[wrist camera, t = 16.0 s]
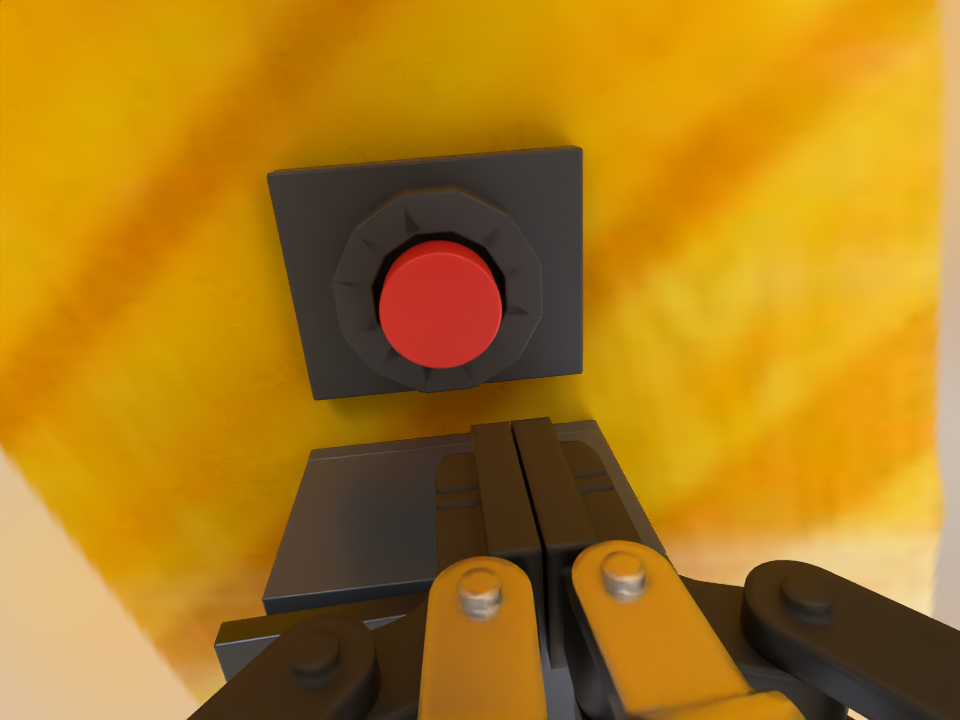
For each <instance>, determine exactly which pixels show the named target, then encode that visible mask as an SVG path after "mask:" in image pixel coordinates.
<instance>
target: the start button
mask: <svg viewBox="0 0 960 720" xmlns="http://www.w3.org/2000/svg"><path fill="white" fill-rule="evenodd" d="M379 316H380V322H381V326H382V329H383V332H384V334H385V336H386V338H387V340H388V341H389V343H390V344H391V345H392V347H393V348H394V349H395V350H396V351H397V352H398V353H400V354H401V355H402V356H403V357H405V358H406V359H408V360H409V361H411V362H414V363H416V364H418V365H421V366H424V367H429V368H439V369H441V368H452V367H456V366H460V365H463V364H465V363H468V362H470V361H471V360H473V359H475V358H476V357H478V356H479V355H480V354H482V353H483V352H484V351H485V350H486V349H487V348H488V347H489V345H490V344H491V343H492V341H493V340H494V338H495V336H496V334H497V332H498V330H499V327H500V323H501V318H502V302H501V297H500V293H499V290H498V288H497V285H496V283H495V280H494V277H493V275H492V273H491V271H490V269H489V267H488V265H487V264H486V263H485V261H484V260H483V259H482V258H481V257H480V256H479V255H478V254H477V253H475V252H474V251H473V250H471V249H470V248H468V247H466V246H464V245H462V244H459V243H456V242H452V241H446V240H433V241H427V242H423V243H420V244H417V245H415V246H413V247H411V248H409V249H408V250H406V251H405V252H404V253H402V254H401V255H400V256H399V257H398V258H397V259H396V260H395V261H394V263H393V264H392V266H391V267H390V269H389V271H388V273H387V275H386V278H385V281H384V285H383V289H382V294H381V298H380V303H379Z"/></svg>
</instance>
